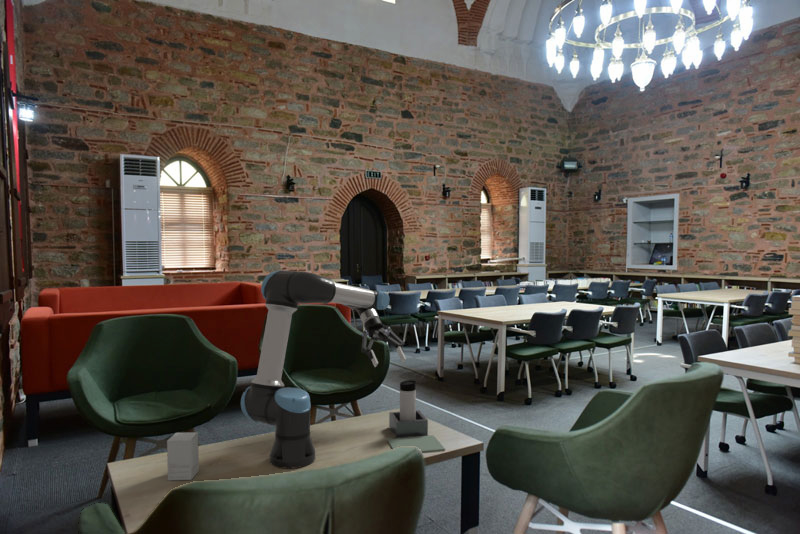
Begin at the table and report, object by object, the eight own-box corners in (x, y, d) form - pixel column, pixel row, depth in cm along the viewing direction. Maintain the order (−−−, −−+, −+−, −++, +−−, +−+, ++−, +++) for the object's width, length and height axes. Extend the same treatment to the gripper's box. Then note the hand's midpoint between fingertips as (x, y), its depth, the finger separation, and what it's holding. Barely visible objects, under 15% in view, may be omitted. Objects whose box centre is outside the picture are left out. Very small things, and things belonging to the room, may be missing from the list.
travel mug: (416, 434, 202) (416, 383, 202) (399, 434, 203) (399, 382, 202) (416, 428, 209) (416, 379, 208) (399, 428, 209) (400, 378, 208)
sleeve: (396, 438, 198) (396, 422, 198) (389, 427, 210) (389, 412, 210) (427, 435, 201) (427, 420, 201) (419, 424, 213) (419, 410, 213)
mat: (395, 455, 182) (395, 453, 182) (387, 440, 196) (387, 439, 196) (445, 450, 186) (445, 448, 186) (433, 436, 200) (433, 435, 200)
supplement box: (199, 470, 169) (199, 431, 168) (191, 480, 161) (190, 440, 161) (176, 470, 168) (175, 432, 168) (166, 480, 161) (166, 440, 161)
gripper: (392, 324, 236) (411, 364, 224) (343, 330, 222) (360, 372, 210) (399, 314, 231) (418, 353, 220) (349, 319, 217) (367, 361, 206)
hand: (390, 362), depth 215 cm, fingers open, 13 cm apart
